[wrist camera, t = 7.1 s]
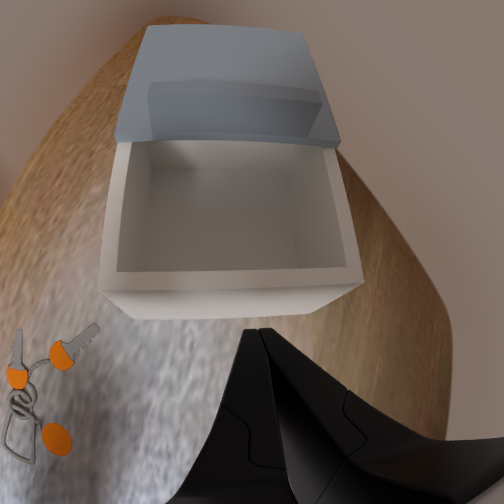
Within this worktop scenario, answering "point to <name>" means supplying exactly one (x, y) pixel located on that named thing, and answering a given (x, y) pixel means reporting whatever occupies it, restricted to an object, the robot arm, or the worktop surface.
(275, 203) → the mailer box
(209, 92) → the lid
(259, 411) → the robot arm
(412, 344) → the worktop surface
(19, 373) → the key chain
